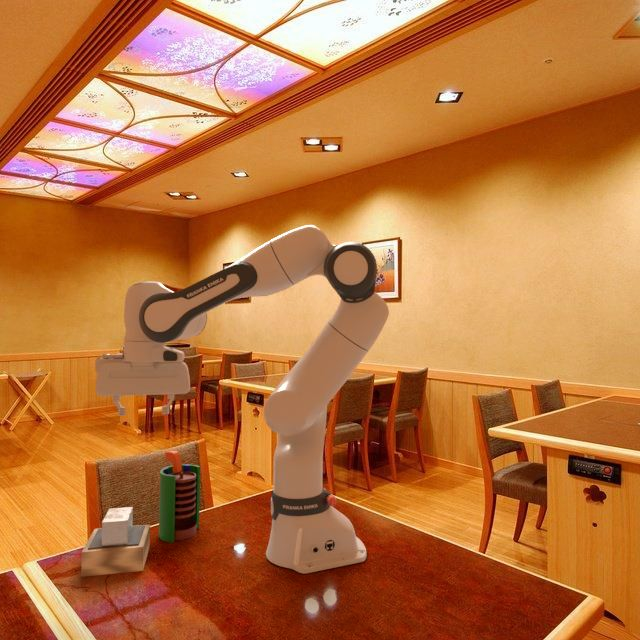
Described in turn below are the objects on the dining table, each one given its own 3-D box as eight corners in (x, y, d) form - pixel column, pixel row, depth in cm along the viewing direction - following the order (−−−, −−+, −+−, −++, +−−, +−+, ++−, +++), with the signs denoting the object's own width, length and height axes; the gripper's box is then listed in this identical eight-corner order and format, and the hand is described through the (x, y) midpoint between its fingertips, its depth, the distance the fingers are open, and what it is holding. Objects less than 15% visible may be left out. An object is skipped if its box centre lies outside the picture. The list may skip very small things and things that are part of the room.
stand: (149, 546, 118) (149, 523, 118) (143, 570, 106) (143, 545, 106) (94, 550, 115) (94, 527, 115) (81, 576, 104) (81, 550, 104)
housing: (127, 544, 107) (127, 520, 107) (101, 546, 106) (101, 522, 106) (133, 526, 116) (133, 504, 116) (110, 528, 115) (110, 506, 115)
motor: (185, 544, 119) (185, 458, 119) (150, 540, 121) (151, 456, 121) (203, 526, 129) (204, 448, 129) (171, 524, 131) (171, 446, 131)
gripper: (92, 354, 110) (91, 418, 110) (189, 354, 114) (189, 415, 114) (98, 353, 116) (98, 413, 116) (190, 352, 120) (190, 410, 120)
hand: (144, 414), depth 115 cm, fingers open, 8 cm apart
